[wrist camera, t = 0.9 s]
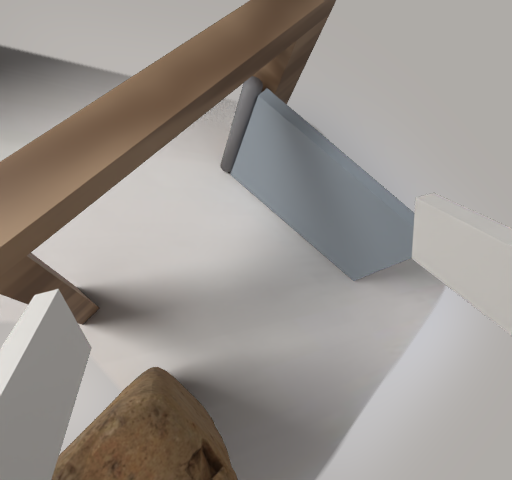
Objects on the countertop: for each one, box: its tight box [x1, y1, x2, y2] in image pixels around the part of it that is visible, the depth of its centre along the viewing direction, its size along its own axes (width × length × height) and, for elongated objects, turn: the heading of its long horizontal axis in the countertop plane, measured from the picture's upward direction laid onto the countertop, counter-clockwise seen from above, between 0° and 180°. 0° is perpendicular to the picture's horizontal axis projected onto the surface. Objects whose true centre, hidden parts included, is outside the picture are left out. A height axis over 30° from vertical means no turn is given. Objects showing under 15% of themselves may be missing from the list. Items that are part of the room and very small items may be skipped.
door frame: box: [0, 0, 336, 325], centre depth 27 cm, size 3×28×20 cm, turn 141°
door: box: [221, 76, 415, 281], centre depth 34 cm, size 21×3×13 cm, turn 51°
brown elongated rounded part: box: [51, 367, 238, 480], centre depth 20 cm, size 11×8×20 cm
